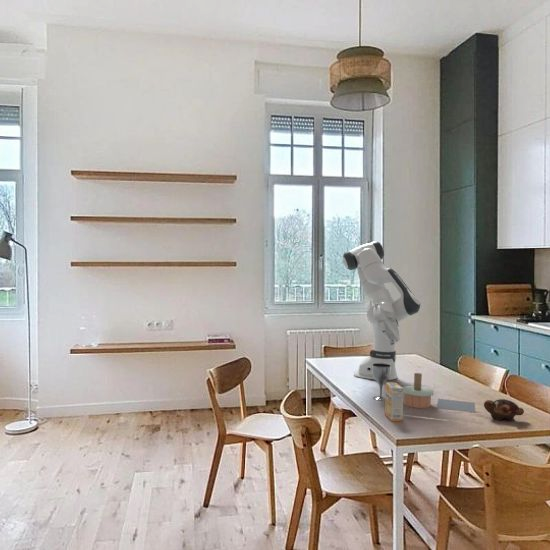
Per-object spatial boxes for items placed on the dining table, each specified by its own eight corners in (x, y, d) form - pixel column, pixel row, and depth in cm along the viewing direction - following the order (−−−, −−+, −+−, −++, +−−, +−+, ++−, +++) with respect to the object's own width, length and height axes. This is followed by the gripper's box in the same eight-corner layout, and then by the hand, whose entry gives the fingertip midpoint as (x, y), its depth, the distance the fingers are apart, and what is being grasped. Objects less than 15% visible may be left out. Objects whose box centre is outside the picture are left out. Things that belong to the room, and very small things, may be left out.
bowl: (402, 407, 207) (402, 394, 207) (405, 400, 217) (405, 387, 217) (429, 410, 203) (430, 397, 203) (431, 403, 214) (431, 390, 213)
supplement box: (384, 414, 197) (385, 382, 196) (395, 414, 197) (396, 382, 197) (390, 421, 188) (391, 387, 188) (403, 421, 189) (403, 387, 188)
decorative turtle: (478, 416, 197) (479, 396, 197) (514, 416, 198) (515, 396, 198) (490, 424, 188) (491, 403, 187) (528, 424, 189) (529, 403, 188)
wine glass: (379, 401, 214) (380, 367, 214) (367, 397, 222) (368, 363, 221) (393, 399, 218) (394, 366, 218) (381, 395, 225) (382, 362, 225)
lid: (400, 394, 206) (400, 375, 206) (403, 387, 219) (403, 369, 218) (432, 398, 202) (433, 378, 202) (434, 390, 214) (434, 372, 214)
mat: (436, 409, 205) (436, 407, 205) (438, 399, 219) (438, 398, 219) (475, 413, 200) (475, 412, 200) (474, 404, 214) (474, 402, 214)
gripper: (381, 298, 219) (384, 320, 209) (400, 326, 230) (404, 348, 220) (368, 303, 222) (371, 325, 211) (387, 330, 233) (391, 353, 222)
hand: (388, 337), depth 216 cm, fingers open, 8 cm apart
